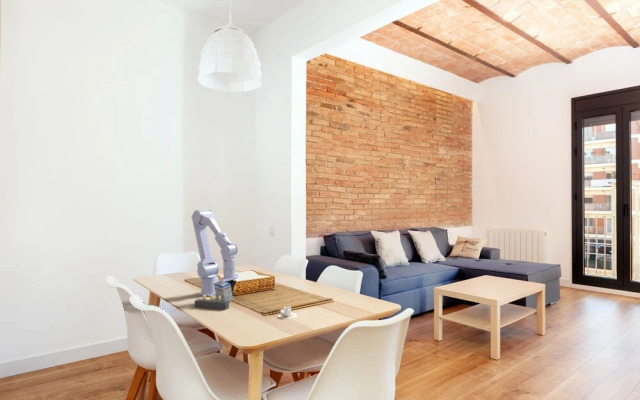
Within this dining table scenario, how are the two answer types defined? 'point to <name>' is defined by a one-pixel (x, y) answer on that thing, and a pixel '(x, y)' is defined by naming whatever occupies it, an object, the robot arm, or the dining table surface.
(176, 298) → the dining table surface
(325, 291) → the dining table surface
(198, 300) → the pin header
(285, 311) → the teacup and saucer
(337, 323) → the dining table surface
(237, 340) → the dining table surface
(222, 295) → the medicine box
